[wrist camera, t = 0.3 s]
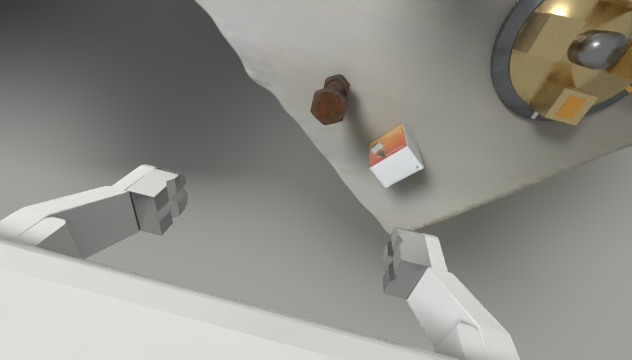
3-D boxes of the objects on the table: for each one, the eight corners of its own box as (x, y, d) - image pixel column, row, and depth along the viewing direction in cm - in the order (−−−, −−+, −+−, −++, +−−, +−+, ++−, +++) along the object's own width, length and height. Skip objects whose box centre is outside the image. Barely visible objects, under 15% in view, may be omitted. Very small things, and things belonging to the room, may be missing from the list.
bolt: (358, 84, 53) (354, 110, 40) (340, 102, 55) (330, 132, 43) (337, 61, 51) (326, 80, 39) (318, 81, 54) (302, 105, 41)
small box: (402, 121, 55) (408, 144, 46) (417, 142, 57) (425, 168, 48) (368, 143, 59) (368, 168, 50) (383, 162, 61) (385, 189, 52)
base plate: (553, -73, 38) (560, -76, 36) (730, -29, 37) (744, -30, 36) (463, 98, 51) (466, 101, 50) (592, 132, 50) (598, 136, 49)
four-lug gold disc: (565, -53, 37) (596, -61, 32) (713, -16, 37) (770, -18, 32) (483, 93, 48) (497, 104, 43) (596, 123, 48) (624, 138, 43)
